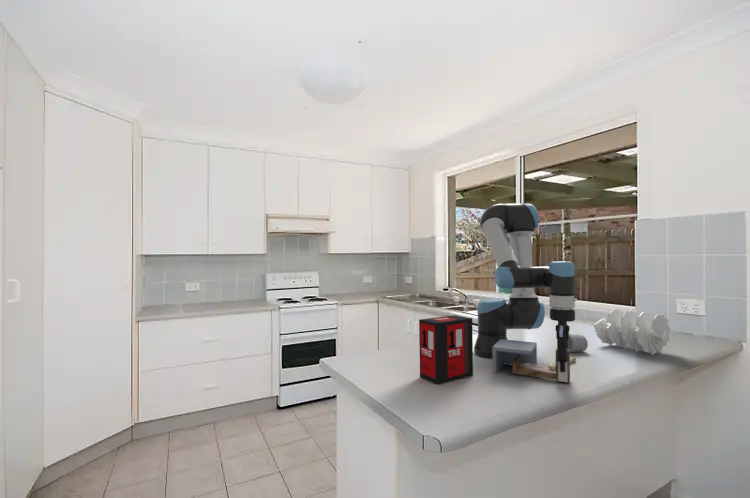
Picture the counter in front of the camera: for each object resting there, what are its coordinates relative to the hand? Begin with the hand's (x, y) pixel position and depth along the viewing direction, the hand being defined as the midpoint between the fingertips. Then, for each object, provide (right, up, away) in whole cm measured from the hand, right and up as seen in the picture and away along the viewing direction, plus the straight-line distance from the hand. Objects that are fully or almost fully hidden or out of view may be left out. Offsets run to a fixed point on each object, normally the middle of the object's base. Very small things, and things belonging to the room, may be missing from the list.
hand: (563, 379), depth 125 cm
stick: (+9, -2, +18) cm, 20 cm away
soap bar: (-5, -2, +10) cm, 12 cm away
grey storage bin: (-11, -1, +13) cm, 17 cm away
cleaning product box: (-37, -2, +7) cm, 38 cm away
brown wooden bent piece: (-4, 0, +7) cm, 8 cm away
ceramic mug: (+23, -2, +40) cm, 46 cm away
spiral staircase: (+50, -1, +40) cm, 65 cm away
